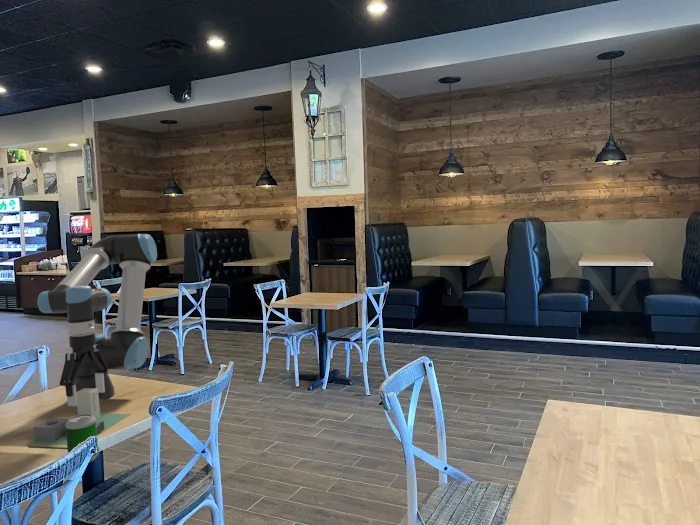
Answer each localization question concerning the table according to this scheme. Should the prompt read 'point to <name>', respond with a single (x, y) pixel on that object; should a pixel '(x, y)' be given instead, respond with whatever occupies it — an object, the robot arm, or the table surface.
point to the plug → (88, 402)
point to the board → (56, 430)
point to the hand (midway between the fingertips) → (87, 398)
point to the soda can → (80, 431)
